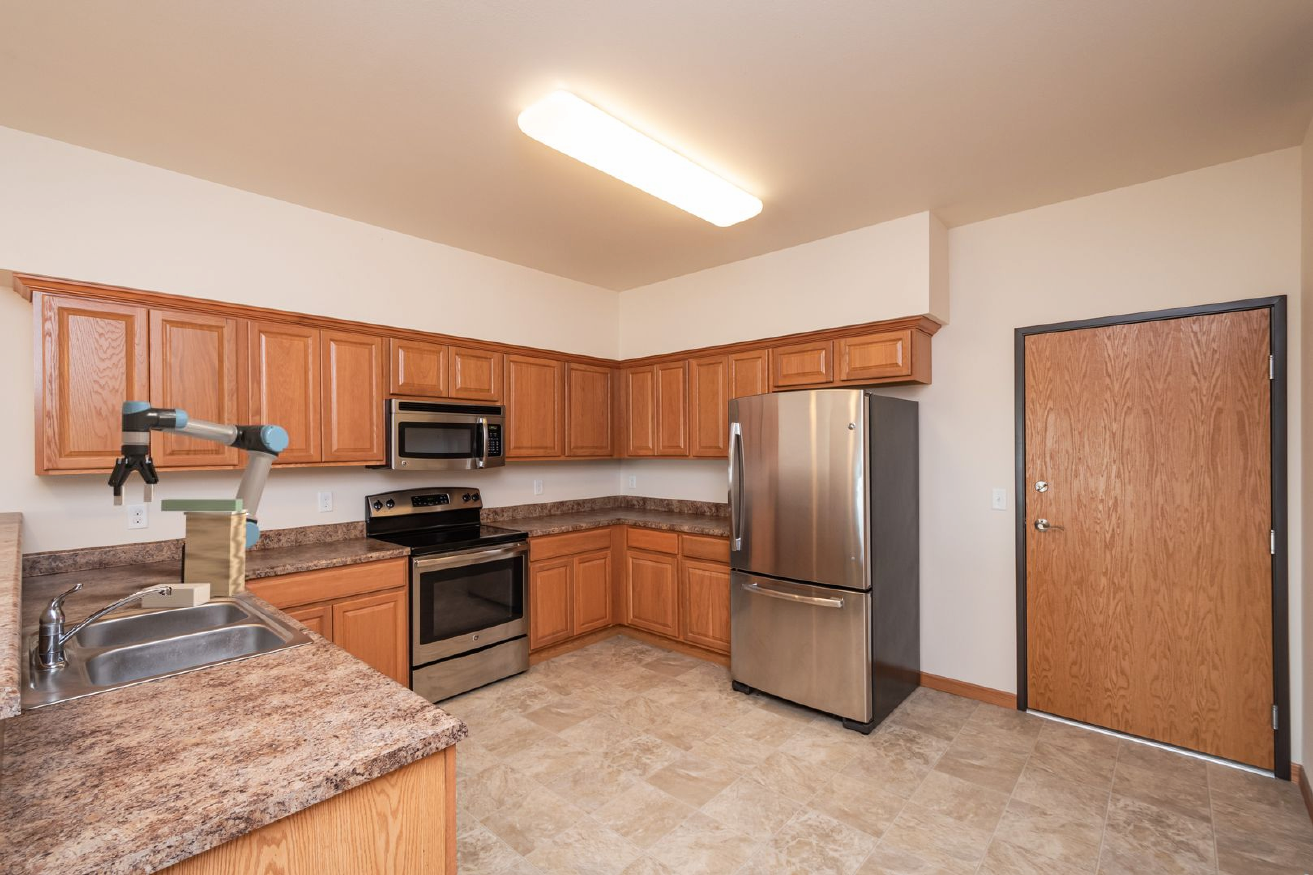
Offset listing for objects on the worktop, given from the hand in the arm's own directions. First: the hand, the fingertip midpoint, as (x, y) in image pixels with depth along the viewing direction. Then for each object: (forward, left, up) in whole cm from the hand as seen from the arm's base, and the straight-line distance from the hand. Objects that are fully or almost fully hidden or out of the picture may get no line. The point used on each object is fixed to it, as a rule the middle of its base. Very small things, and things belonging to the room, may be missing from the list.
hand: (134, 503), depth 211 cm
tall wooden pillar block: (0, +28, -33) cm, 43 cm away
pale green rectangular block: (0, +23, -3) cm, 23 cm away
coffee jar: (-14, +13, -33) cm, 38 cm away
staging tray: (+14, +24, -33) cm, 43 cm away
